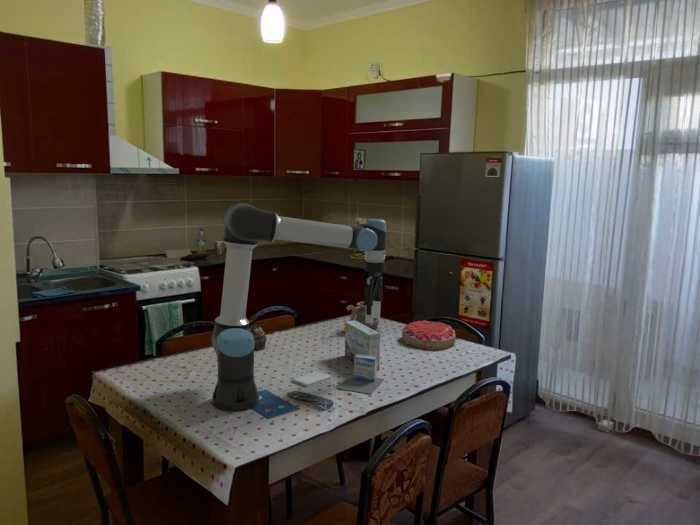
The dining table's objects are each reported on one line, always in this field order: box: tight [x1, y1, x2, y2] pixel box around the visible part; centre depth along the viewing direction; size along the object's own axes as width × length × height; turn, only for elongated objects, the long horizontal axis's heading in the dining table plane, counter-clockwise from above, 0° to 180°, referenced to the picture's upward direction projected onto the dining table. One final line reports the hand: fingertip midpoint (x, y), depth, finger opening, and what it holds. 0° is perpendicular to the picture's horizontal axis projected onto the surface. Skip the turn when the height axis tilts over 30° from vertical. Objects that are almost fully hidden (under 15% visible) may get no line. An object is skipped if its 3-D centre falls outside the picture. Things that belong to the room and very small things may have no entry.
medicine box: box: [353, 354, 378, 382], centre depth 207 cm, size 8×4×9 cm, turn 76°
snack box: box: [344, 320, 381, 371], centre depth 226 cm, size 21×6×15 cm, turn 27°
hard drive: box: [291, 370, 332, 388], centre depth 206 cm, size 2×8×12 cm
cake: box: [401, 319, 457, 351], centre depth 259 cm, size 25×25×8 cm
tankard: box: [345, 301, 381, 333], centre depth 270 cm, size 20×13×15 cm, turn 130°
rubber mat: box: [335, 373, 385, 395], centre depth 203 cm, size 16×13×1 cm
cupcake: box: [248, 324, 267, 352], centre depth 241 cm, size 10×10×10 cm
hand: (372, 320), depth 211 cm, fingers open, 8 cm apart
